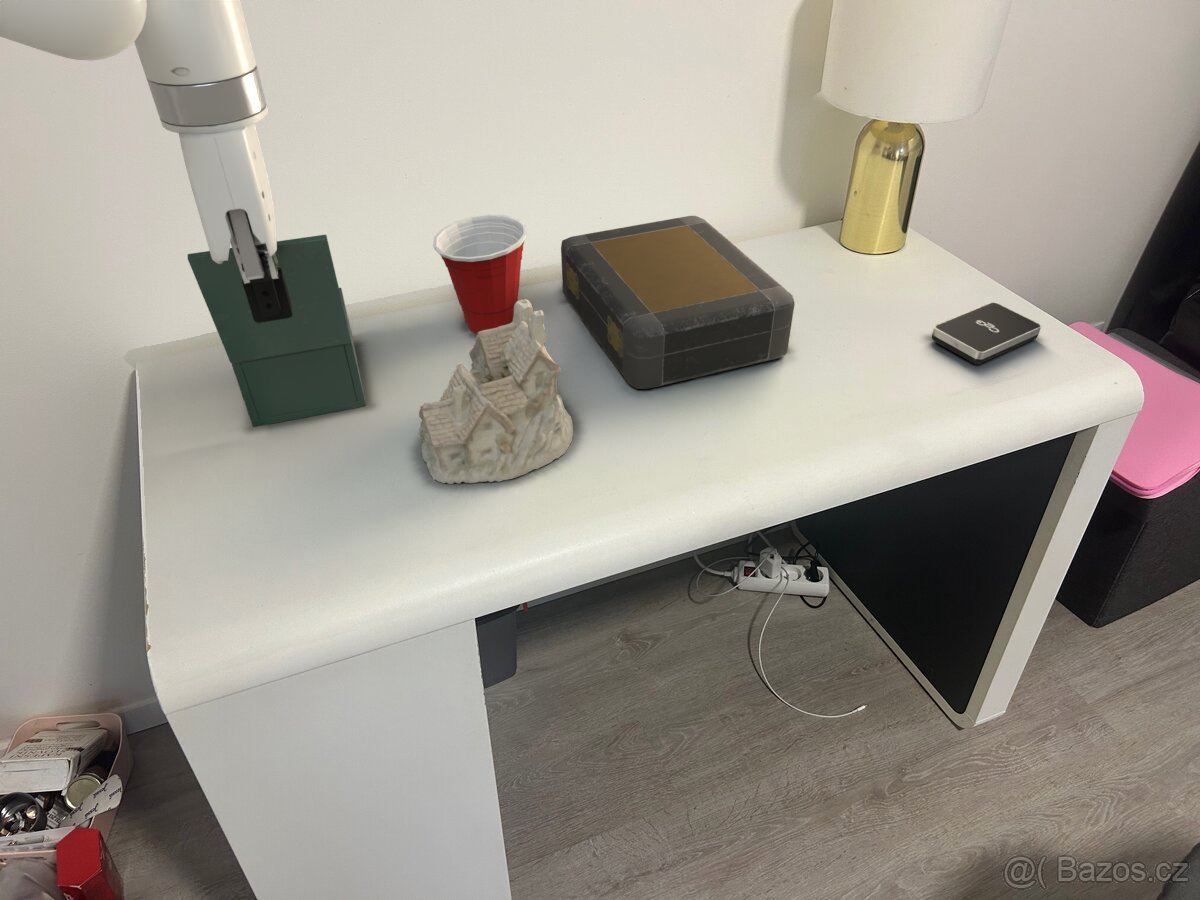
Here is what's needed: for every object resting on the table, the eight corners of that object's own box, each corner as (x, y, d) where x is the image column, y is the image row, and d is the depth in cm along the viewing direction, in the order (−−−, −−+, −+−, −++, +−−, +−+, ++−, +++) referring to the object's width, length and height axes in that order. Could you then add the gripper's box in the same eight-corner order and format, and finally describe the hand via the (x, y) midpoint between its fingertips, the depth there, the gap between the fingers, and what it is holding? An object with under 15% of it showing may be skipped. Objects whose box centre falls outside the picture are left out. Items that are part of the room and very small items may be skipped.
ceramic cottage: (552, 373, 95) (537, 253, 85) (589, 469, 83) (576, 343, 73) (413, 402, 92) (381, 282, 82) (430, 505, 80) (395, 380, 70)
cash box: (797, 357, 97) (806, 297, 92) (634, 395, 92) (635, 334, 87) (699, 264, 115) (703, 210, 110) (558, 291, 110) (556, 236, 105)
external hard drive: (1038, 340, 99) (1043, 325, 98) (975, 369, 95) (980, 354, 94) (989, 315, 104) (993, 301, 103) (926, 341, 99) (930, 326, 98)
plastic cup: (438, 309, 106) (424, 219, 99) (522, 296, 109) (515, 207, 101) (453, 354, 98) (439, 260, 91) (543, 339, 101) (537, 245, 93)
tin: (251, 364, 97) (232, 304, 92) (354, 346, 100) (341, 287, 95) (253, 427, 88) (231, 364, 83) (366, 405, 91) (352, 343, 86)
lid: (187, 253, 72) (187, 259, 72) (326, 233, 75) (327, 239, 75) (230, 358, 83) (230, 363, 83) (350, 337, 86) (351, 342, 85)
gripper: (162, 74, 67) (230, 284, 78) (146, 136, 56) (227, 369, 67) (262, 65, 68) (313, 271, 80) (264, 123, 57) (323, 352, 69)
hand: (273, 315), depth 74 cm, fingers closed
